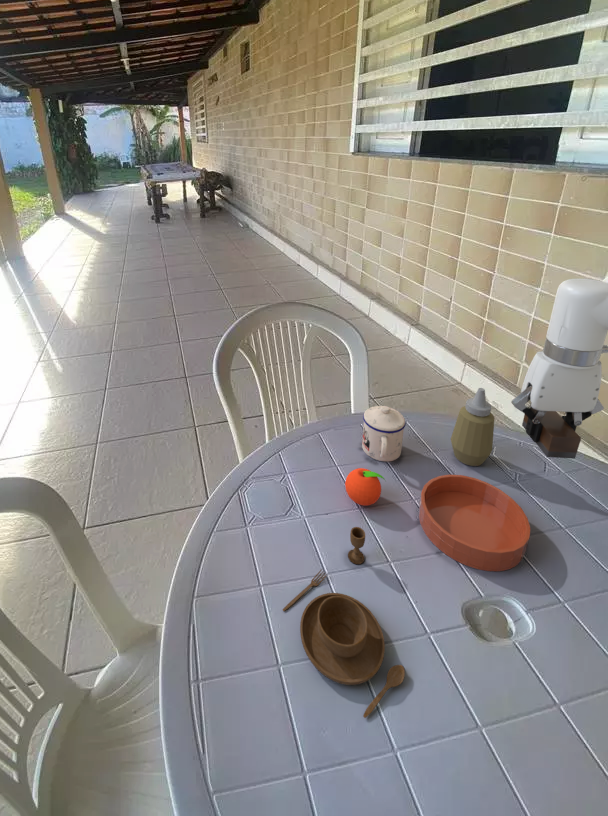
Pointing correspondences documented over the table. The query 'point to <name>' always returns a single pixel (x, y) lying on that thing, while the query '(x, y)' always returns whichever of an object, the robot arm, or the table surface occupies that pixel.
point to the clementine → (363, 486)
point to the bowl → (474, 522)
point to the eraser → (556, 436)
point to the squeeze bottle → (474, 431)
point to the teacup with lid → (383, 433)
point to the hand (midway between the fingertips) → (547, 437)
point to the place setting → (345, 634)
